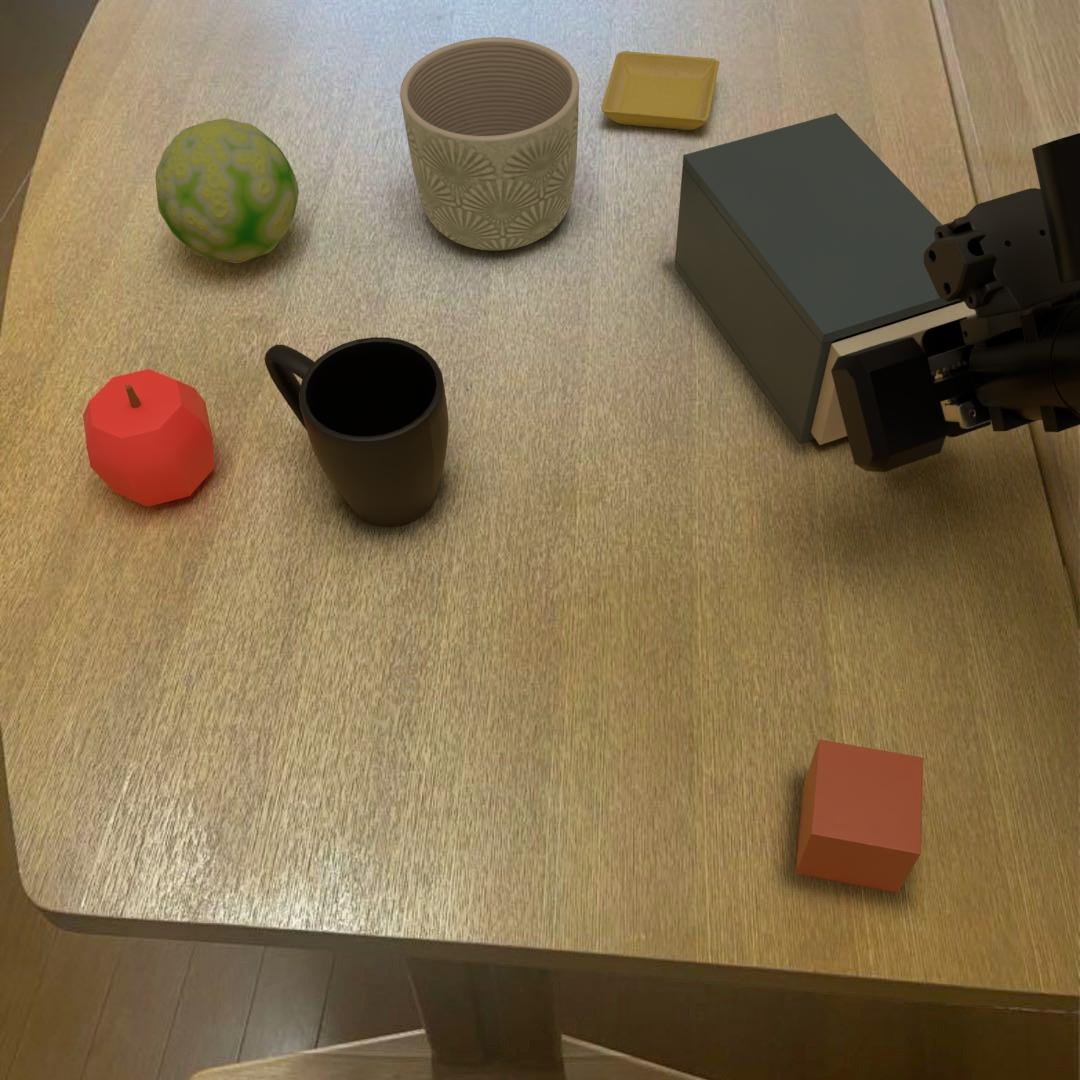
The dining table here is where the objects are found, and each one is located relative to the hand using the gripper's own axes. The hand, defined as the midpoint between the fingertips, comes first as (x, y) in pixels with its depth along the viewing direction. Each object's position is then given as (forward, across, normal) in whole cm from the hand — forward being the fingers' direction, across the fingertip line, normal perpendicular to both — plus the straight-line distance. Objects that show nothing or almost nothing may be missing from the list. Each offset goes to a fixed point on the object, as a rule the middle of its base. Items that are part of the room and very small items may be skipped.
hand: (920, 372), depth 71 cm
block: (-11, +16, +20) cm, 28 cm away
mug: (+12, +32, -3) cm, 34 cm away
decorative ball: (+30, +34, -21) cm, 50 cm away
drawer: (+9, 0, -2) cm, 10 cm away
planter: (+27, +15, -18) cm, 36 cm away
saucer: (+32, -2, -23) cm, 40 cm away
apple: (+16, +44, -7) cm, 47 cm away
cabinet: (+13, 0, -4) cm, 13 cm away
